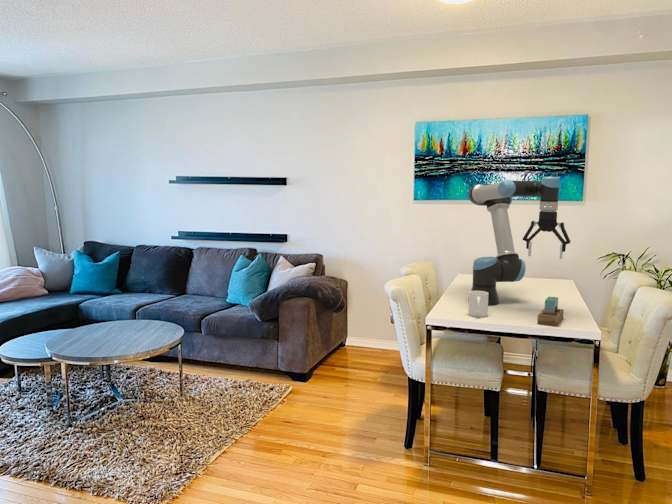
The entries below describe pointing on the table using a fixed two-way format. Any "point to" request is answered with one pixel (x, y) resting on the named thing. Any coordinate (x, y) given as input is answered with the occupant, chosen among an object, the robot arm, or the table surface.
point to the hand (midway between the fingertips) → (544, 257)
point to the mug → (478, 303)
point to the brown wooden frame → (550, 318)
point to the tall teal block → (551, 305)
